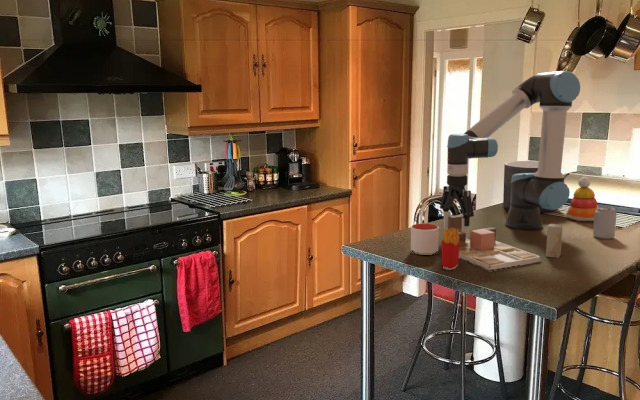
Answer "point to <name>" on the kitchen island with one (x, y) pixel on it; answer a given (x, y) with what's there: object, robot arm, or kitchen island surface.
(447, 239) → the french fries
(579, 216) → the stacking toy
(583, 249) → the kitchen island surface
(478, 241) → the cube
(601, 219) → the can
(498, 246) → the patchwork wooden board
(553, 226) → the box
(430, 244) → the cup
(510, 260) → the lane board
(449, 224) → the brown upright blocks
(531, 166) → the planter
